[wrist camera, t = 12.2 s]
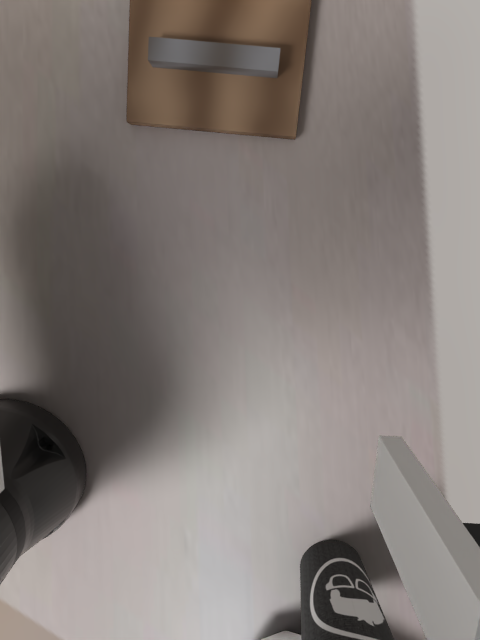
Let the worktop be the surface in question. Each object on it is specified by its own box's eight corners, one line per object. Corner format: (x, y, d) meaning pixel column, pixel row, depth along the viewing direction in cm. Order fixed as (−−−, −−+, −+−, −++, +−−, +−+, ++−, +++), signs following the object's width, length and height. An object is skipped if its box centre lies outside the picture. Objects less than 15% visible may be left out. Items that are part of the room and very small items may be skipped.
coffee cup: (269, 551, 46) (274, 706, 31) (349, 513, 44) (395, 657, 30) (312, 615, 47) (337, 792, 33) (391, 581, 46) (453, 749, 31)
